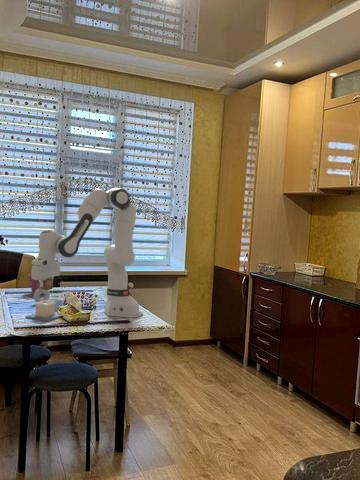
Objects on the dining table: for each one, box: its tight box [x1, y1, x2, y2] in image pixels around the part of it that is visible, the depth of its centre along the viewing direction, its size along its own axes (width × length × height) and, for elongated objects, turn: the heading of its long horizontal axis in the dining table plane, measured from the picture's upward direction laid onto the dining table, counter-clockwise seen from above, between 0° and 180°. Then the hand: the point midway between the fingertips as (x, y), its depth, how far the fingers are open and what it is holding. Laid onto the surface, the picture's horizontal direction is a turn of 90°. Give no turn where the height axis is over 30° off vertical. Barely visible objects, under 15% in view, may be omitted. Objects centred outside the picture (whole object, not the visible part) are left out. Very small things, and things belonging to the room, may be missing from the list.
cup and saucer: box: [25, 300, 61, 323], centre depth 239 cm, size 14×14×8 cm
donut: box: [33, 289, 51, 303], centre depth 269 cm, size 10×4×10 cm, turn 128°
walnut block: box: [39, 279, 54, 291], centre depth 238 cm, size 5×5×5 cm
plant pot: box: [27, 273, 50, 296], centre depth 298 cm, size 14×14×13 cm
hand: (45, 285), depth 238 cm, fingers closed on walnut block, 5 cm apart
